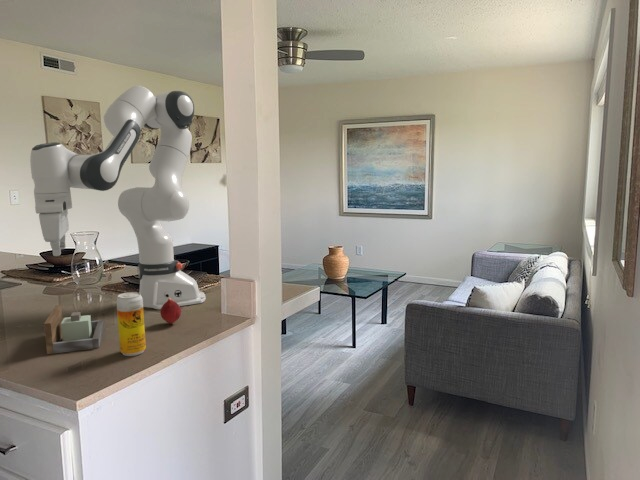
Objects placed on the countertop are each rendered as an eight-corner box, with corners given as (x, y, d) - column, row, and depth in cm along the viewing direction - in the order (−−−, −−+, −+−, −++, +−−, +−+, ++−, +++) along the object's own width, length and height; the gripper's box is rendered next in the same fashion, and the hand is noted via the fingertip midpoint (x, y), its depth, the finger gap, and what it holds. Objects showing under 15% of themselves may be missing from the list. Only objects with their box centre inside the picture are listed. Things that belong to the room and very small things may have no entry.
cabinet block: (92, 335, 135) (89, 309, 133) (90, 342, 130) (87, 315, 129) (66, 338, 133) (63, 312, 131) (63, 345, 128) (60, 318, 127)
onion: (185, 321, 145) (184, 296, 144) (173, 328, 140) (172, 301, 139) (169, 319, 147) (167, 294, 146) (157, 326, 142) (155, 299, 141)
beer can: (130, 358, 119) (126, 299, 116) (115, 353, 122) (110, 296, 119) (151, 350, 124) (147, 293, 121) (135, 345, 127) (131, 290, 124)
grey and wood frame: (104, 327, 141) (102, 301, 139) (99, 347, 126) (96, 318, 124) (58, 332, 137) (55, 305, 135) (47, 354, 122) (43, 323, 120)
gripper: (47, 199, 142) (52, 246, 144) (33, 207, 123) (40, 260, 125) (71, 198, 144) (76, 244, 146) (61, 206, 125) (67, 258, 128)
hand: (59, 252), depth 136 cm, fingers open, 8 cm apart
